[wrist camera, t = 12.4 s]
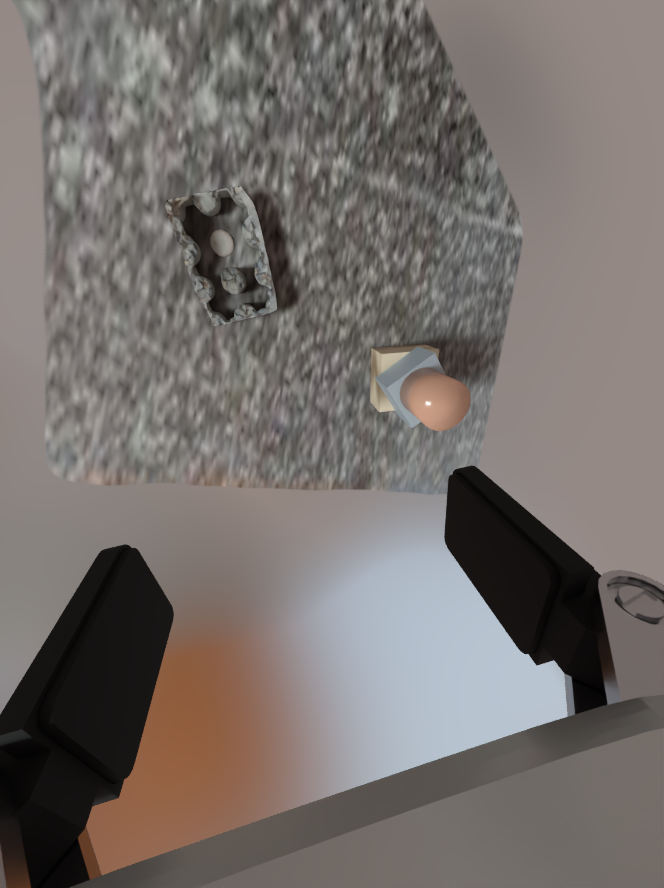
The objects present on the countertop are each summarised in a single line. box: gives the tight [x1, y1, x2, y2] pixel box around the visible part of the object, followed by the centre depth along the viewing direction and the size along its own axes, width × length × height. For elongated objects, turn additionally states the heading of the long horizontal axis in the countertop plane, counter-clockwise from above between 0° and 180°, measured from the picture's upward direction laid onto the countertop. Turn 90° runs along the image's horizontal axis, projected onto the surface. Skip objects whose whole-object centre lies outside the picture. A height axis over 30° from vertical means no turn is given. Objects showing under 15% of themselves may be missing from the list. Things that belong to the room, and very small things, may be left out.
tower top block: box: [375, 346, 446, 428], centre depth 35 cm, size 6×6×4 cm
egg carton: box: [165, 186, 277, 326], centre depth 30 cm, size 11×8×4 cm
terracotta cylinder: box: [400, 368, 470, 431], centre depth 31 cm, size 5×5×5 cm
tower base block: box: [370, 344, 439, 412], centre depth 39 cm, size 7×7×4 cm
